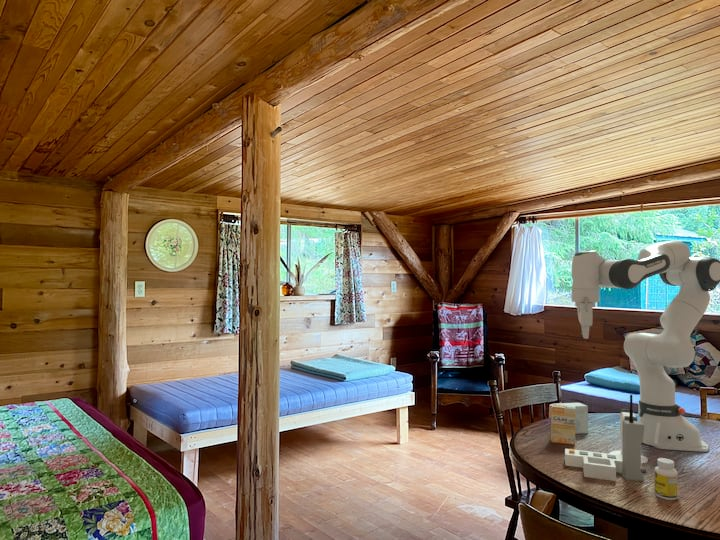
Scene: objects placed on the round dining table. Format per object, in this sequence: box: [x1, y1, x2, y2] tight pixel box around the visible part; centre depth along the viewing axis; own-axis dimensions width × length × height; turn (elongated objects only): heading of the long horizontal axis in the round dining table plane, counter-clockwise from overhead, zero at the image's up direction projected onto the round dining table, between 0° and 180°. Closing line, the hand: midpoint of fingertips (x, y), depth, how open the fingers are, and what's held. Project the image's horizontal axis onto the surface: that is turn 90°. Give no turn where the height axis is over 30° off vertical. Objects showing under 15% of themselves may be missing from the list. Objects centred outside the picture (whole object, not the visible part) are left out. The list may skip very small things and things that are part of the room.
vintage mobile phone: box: [621, 394, 645, 482], centre depth 151 cm, size 4×5×25 cm
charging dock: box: [564, 448, 647, 482], centre depth 157 cm, size 23×14×4 cm, turn 68°
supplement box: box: [550, 403, 576, 446], centre depth 184 cm, size 8×5×13 cm, turn 68°
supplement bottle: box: [654, 457, 679, 501], centre depth 139 cm, size 5×5×10 cm
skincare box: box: [554, 402, 589, 435], centre depth 197 cm, size 10×6×10 cm, turn 98°
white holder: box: [608, 408, 649, 465], centre depth 169 cm, size 12×11×15 cm
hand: (585, 336), depth 176 cm, fingers open, 8 cm apart
